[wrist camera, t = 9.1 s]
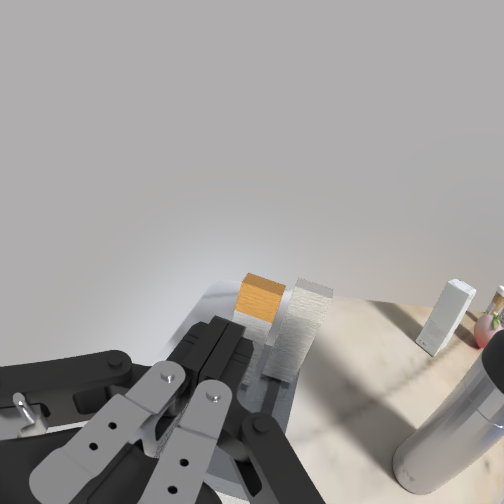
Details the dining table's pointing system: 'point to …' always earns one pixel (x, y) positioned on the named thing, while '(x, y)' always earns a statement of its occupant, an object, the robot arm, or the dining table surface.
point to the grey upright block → (298, 329)
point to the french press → (502, 319)
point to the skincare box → (445, 316)
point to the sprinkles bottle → (496, 302)
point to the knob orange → (257, 313)
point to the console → (254, 400)
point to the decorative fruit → (486, 329)
